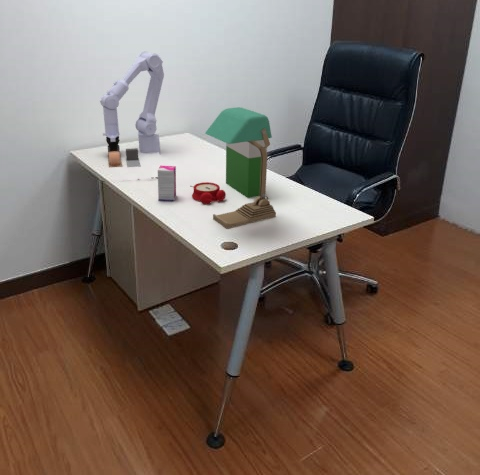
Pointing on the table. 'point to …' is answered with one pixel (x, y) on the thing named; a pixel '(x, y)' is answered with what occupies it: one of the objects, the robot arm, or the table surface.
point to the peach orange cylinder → (109, 160)
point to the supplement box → (166, 183)
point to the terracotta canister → (114, 158)
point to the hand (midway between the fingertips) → (114, 153)
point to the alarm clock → (208, 193)
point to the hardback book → (244, 167)
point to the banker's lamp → (256, 128)
